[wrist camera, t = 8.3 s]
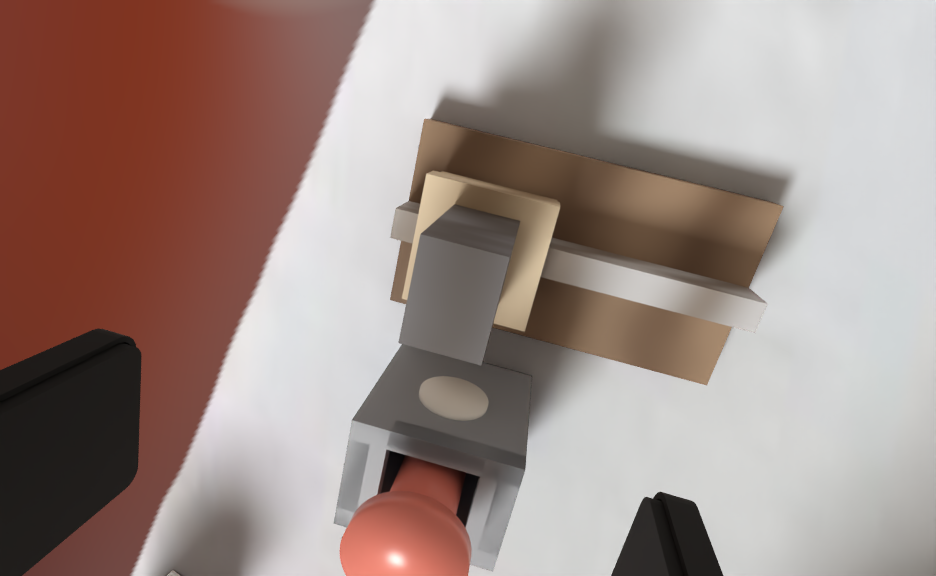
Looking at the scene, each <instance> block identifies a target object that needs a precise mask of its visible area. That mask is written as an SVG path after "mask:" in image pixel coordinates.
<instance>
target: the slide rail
mask: <svg viewBox="0 0 936 576" xmlns="http://www.w3.org/2000/svg"><path fill="white" fill-rule="evenodd" d="M433 170H434V171H438V172H442V171H444V172H448V173H452V174H456V175H460V176H464V177H468V178H472V179H476V180H480V181H484V182H488V183H492V184H496V185H500V186H504V187H508V188H512V189H516V190H520V191H524V192H528V193H532V194H536V195H540V196H544V197H548V198H552V199H556V200H558V202H560V210H559V214H558V217H557V221H556V224H555V228H554V231H553V235H552V238H551V242H550V245H549V249H548V252H547V256H546V259H545V262H544V266H543V269H542V273H541V276H540V280H539V283H538V287H537V290H536V294H535V297H534V301H533V304H532V308H531V311H530V315H529V318H528V322H527V325H526V329H525V332H524V331H520V330H516V329H512V328H509V327H505V326H501V325H498V324H494V323H493V326H492V327H493V328H496V329H500V330H504V331H508V332H511V333H515V334H519V335H522V336H526V337H530V338H533V339H537V340H541V341H545V342H548V343H552V344H556V345H559V346H563V347H567V348H571V349H574V350H578V351H582V352H585V353H589V354H593V355H597V356H600V357H604V358H608V359H611V360H615V361H619V362H623V363H626V364H630V365H634V366H637V367H641V368H645V369H648V370H652V371H656V372H660V373H663V374H667V375H671V376H674V377H678V378H682V379H686V380H689V381H693V382H697V383H700V384H704V385H707V384H708V381H709V379H710V377H711V374H712V372H713V370H714V367H715V365H716V363H717V360H718V358H719V356H720V353H721V351H722V349H723V346H724V344H725V342H726V339H727V337H728V335H729V332H730V330H731V328H732V327H734V328H738V329H742V330H746V331H749V332H753V333H755V332H756V329H757V327H758V325H759V323H760V320H761V318H762V316H763V314H764V311H765V309H766V307H767V305H768V304H767V303H766V302H765V301H764V300H763V299H761V298H760V297H759V296H758V295H757V294H755V293H754V292H753V291H752V290H751V289H749V286H750V283H751V281H752V279H753V276H754V274H755V272H756V269H757V267H758V265H759V262H760V260H761V258H762V255H763V253H764V251H765V248H766V246H767V244H768V241H769V239H770V237H771V234H772V232H773V230H774V227H775V225H776V223H777V220H778V218H779V216H780V214H781V211H782V209H783V207H784V206H781V205H778V204H776V203H773V202H770V201H766V200H761V199H757V198H753V197H749V196H745V195H741V194H737V193H733V192H729V191H725V190H720V189H716V188H712V187H708V186H704V185H700V184H696V183H692V182H688V181H683V180H679V179H675V178H671V177H667V176H663V175H659V174H655V173H651V172H646V171H642V170H638V169H634V168H630V167H626V166H622V165H618V164H614V163H610V162H605V161H601V160H597V159H593V158H589V157H585V156H581V155H577V154H573V153H568V152H564V151H560V150H556V149H552V148H548V147H544V146H540V145H536V144H531V143H527V142H523V141H519V140H515V139H511V138H507V137H503V136H499V135H494V134H490V133H486V132H482V131H478V130H474V129H470V128H466V127H462V126H458V125H453V124H449V123H445V122H441V121H437V120H433V119H424V123H423V128H422V133H421V139H420V144H419V149H418V155H417V160H416V165H415V171H414V176H413V181H412V186H411V192H410V197H409V201H408V202H406V203H404V204H403V205H401V206H399V207H397V208H396V210H395V215H394V221H393V226H392V232H391V237H390V238H393V239H397V240H401V245H400V250H399V255H398V261H397V266H396V271H395V277H394V282H393V287H392V292H391V298H390V300H393V301H396V302H400V303H404V304H406V303H407V300H405V299H402V295H403V290H404V285H405V280H406V275H407V270H408V265H409V259H410V254H411V249H412V244H413V239H414V234H415V229H416V224H417V219H418V214H419V209H420V203H421V198H422V193H423V188H424V183H425V178H426V173H429V172H431V171H433Z"/></svg>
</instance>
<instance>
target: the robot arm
mask: <svg viewBox="0 0 936 576" xmlns="http://www.w3.org/2000/svg"><path fill="white" fill-rule="evenodd" d="M140 381H141V352H140V350H139V349H138V348H137V347H136V344H135V342H134V340H133V339H132V338H130V337H128V336H125V335H121V334H118V333H115V332H111V331H108V330H104V329H95V330H92V331H90V332H87V333H85V334H83V335H80V336H78V337H76V338H73V339H71V340H69V341H66V342H64V343H62V344H60V345H57V346H55V347H53V348H50V349H48V350H46V351H44V352H41V353H39V354H37V355H34V356H32V357H30V358H27V359H25V360H23V361H21V362H18V363H16V364H14V365H11V366H9V367H7V368H5V369H2V370H0V576H22V575H23V574H24V573H26V572H27V571H28V570H29V569H30V568H32V567H33V566H34V565H35V564H36V563H38V562H39V561H40V560H41V559H42V558H43V557H45V556H46V555H47V554H48V553H50V552H51V551H52V550H53V549H54V548H55V547H57V546H58V545H59V544H60V543H61V542H63V541H64V540H65V539H66V538H67V537H68V536H70V535H71V534H72V533H73V532H74V531H76V530H77V529H78V528H79V527H80V526H82V525H83V524H84V523H85V522H86V521H88V520H89V519H90V518H91V517H92V516H94V515H95V514H96V513H97V512H98V511H100V510H101V509H102V508H103V507H104V506H105V505H107V504H108V503H109V502H110V501H111V500H112V499H114V498H115V497H116V496H117V495H119V494H120V493H121V492H122V491H123V490H125V489H126V488H127V487H128V486H129V485H130V483H131V482H132V480H133V479H134V477H135V475H136V472H137V469H138V449H139V448H138V447H139V446H138V445H139V417H140V416H139V415H140V384H141V382H140ZM611 576H723V574H722V571H721V568H720V566H719V563H718V560H717V558H716V555H715V553H714V550H713V547H712V545H711V542H710V539H709V537H708V534H707V531H706V529H705V526H704V524H703V521H702V518H701V516H700V513H699V510H698V508H697V506H696V504H695V503H694V502H693V501H690V500H687V499H683V498H680V497H676V496H673V495H670V494H666V493H663V492H658V493H657V494H656V495H655V496H654V498H653V499H652V498H649V497H645V498H644V499H643V500H642V502H641V504H640V507H639V509H638V512H637V514H636V517H635V519H634V521H633V524H632V526H631V529H630V531H629V534H628V536H627V538H626V541H625V543H624V546H623V548H622V551H621V553H620V556H619V558H618V560H617V563H616V565H615V568H614V570H613V573H612V575H611Z"/></svg>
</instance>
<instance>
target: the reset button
mask: <svg viewBox="0 0 936 576" xmlns="http://www.w3.org/2000/svg"><path fill="white" fill-rule="evenodd" d="M465 476H466V472H462V471H459V470H455V469H452V468H449V467H445V466H442V465H438V464H435V463H431V462H428V461H424V460H421V459H418V458H414V457H411V456H407V455H405V457H404V459H403V462H402V464H401V466H400V469H399V471H398V473H397V476H396V478H395V480H394V483H393V485H392V487H391V490H390V492H385V493H381V494H378V495H376V496H373V497H371V498H370V499H368V500H366V501H365V502H364V503H362V504H361V505H360V506H359V508H358V509H357V510H356V511H355V513H354V515H353V517H352V519H351V521H350V523H349V525H348V527H347V529H346V531H345V533H344V535H343V537H342V540H341V544H340V559H341V564H342V567H343V570H344V572H345V574H346V576H468V572H469V566H470V561H471V553H472V548H471V541H470V538H469V535H468V532H467V530H466V528H465V527H464V525H463V523H462V522H461V521H460V519H459V518H458V517H457V516H456V513H457V509H458V505H459V501H460V497H461V493H462V488H463V484H464V480H465Z"/></svg>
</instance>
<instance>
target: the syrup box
mask: <svg viewBox="0 0 936 576" xmlns="http://www.w3.org/2000/svg"><path fill="white" fill-rule="evenodd" d="M167 576H181V575H179V574H178V573H176V572H175V571H171V572H170V573H169V574H168V575H167Z"/></svg>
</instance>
